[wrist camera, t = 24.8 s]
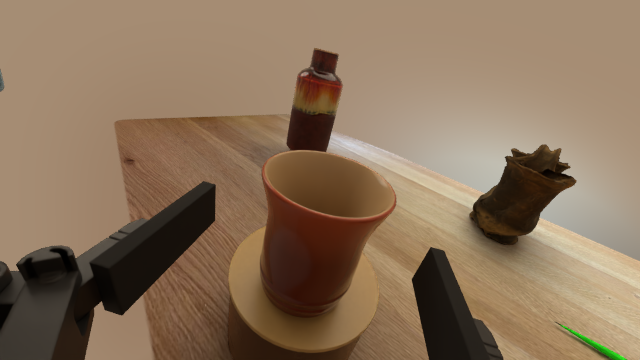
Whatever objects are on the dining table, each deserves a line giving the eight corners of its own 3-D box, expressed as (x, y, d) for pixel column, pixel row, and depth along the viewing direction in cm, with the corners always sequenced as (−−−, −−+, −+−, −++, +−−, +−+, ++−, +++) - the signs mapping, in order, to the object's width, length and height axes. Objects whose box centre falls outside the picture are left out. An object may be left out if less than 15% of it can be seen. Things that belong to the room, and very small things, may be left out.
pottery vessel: (514, 273, 40) (604, 171, 31) (451, 236, 46) (510, 140, 37) (525, 224, 58) (584, 150, 49) (477, 201, 64) (522, 131, 55)
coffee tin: (275, 452, 17) (293, 404, 13) (202, 305, 24) (201, 248, 21) (378, 334, 26) (406, 286, 22) (301, 254, 33) (313, 208, 30)
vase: (329, 156, 69) (354, 58, 57) (316, 169, 59) (343, 54, 47) (295, 145, 71) (312, 48, 59) (277, 155, 61) (294, 42, 49)
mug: (329, 363, 15) (384, 246, 10) (223, 295, 17) (229, 175, 13) (370, 250, 25) (407, 165, 21) (299, 217, 28) (318, 134, 23)
